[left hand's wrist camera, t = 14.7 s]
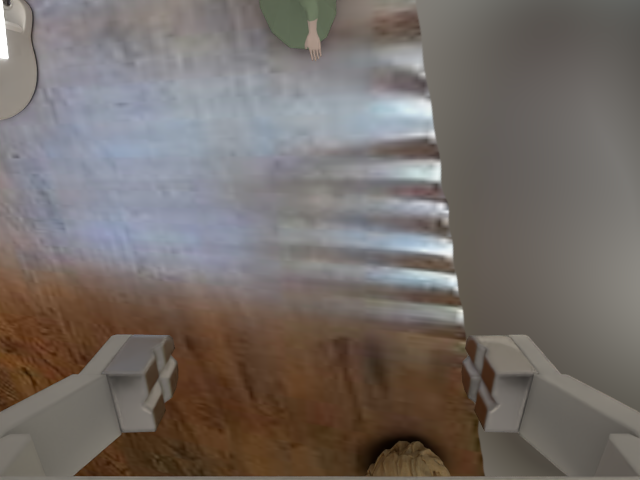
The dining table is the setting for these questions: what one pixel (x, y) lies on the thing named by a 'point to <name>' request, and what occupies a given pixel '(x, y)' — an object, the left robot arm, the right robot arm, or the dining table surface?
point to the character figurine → (300, 21)
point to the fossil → (408, 462)
